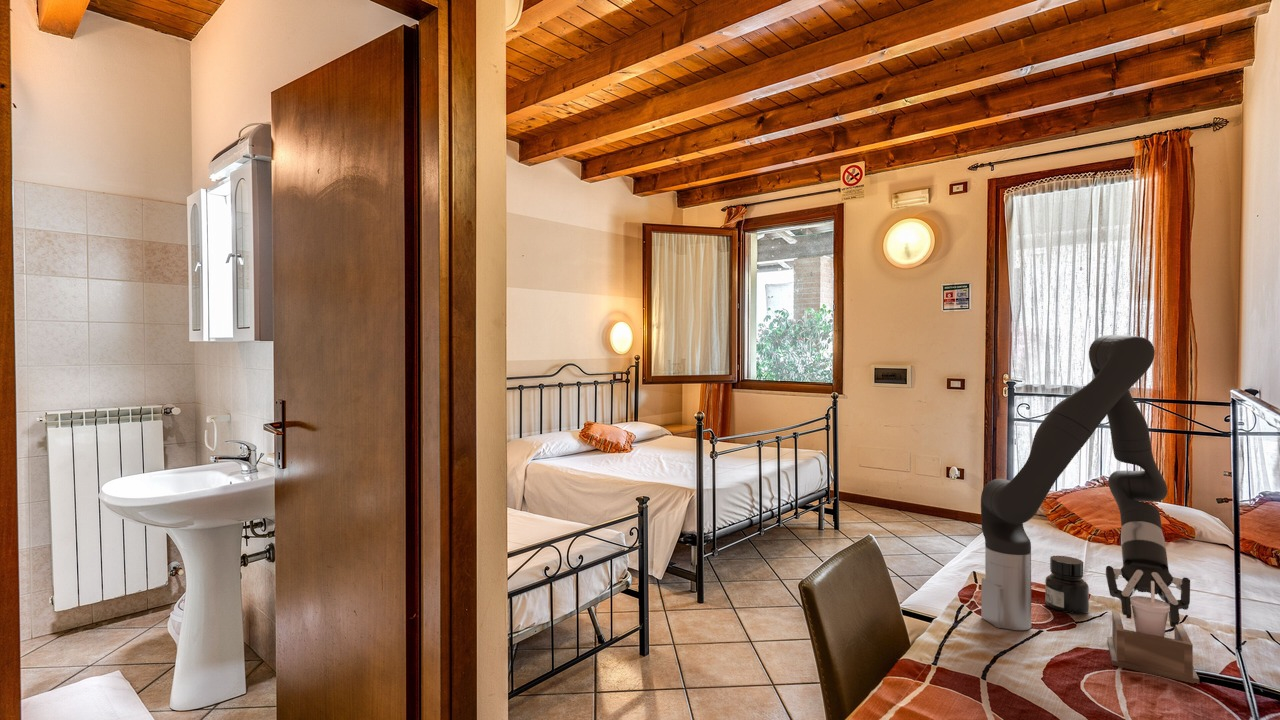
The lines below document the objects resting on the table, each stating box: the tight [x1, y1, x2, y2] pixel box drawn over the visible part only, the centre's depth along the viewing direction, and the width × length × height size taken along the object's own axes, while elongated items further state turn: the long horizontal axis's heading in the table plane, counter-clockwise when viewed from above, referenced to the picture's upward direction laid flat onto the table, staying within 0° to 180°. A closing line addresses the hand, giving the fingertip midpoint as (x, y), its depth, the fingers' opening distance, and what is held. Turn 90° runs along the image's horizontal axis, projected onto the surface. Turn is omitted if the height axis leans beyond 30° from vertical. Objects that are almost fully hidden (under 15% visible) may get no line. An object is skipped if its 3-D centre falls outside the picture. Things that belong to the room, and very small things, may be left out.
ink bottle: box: [1044, 555, 1090, 615], centre depth 150 cm, size 10×9×12 cm
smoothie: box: [1130, 581, 1170, 637], centre depth 123 cm, size 6×6×14 cm
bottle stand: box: [1107, 610, 1200, 685], centre depth 123 cm, size 13×13×7 cm
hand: (1150, 620), depth 122 cm, fingers closed on smoothie, 6 cm apart
